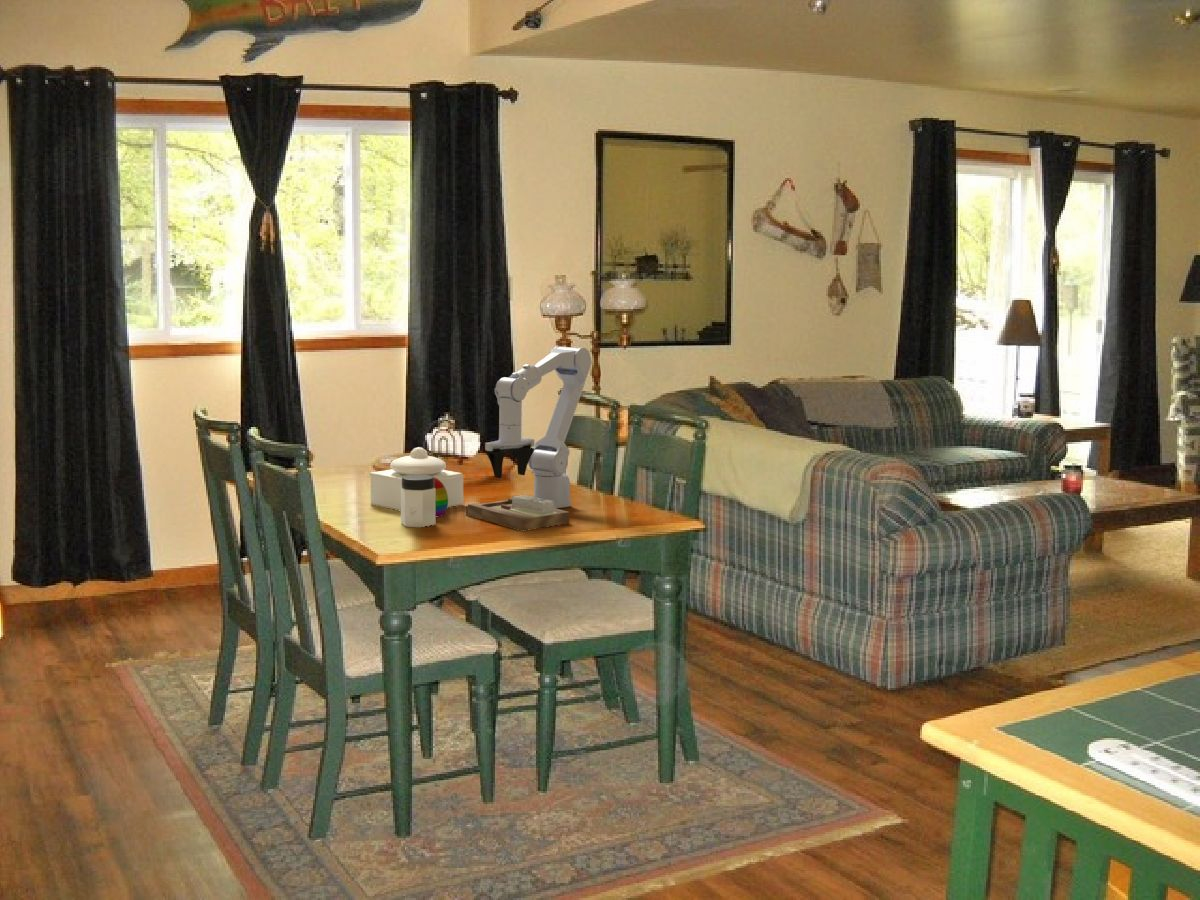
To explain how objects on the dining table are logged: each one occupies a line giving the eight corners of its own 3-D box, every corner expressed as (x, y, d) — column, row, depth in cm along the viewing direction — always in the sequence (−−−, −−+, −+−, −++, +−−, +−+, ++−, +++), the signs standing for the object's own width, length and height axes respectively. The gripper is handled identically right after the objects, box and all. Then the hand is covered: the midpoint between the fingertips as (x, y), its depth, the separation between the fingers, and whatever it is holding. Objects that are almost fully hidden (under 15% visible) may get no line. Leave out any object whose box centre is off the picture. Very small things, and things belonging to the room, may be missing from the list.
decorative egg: (413, 512, 347) (413, 475, 346) (444, 511, 350) (444, 474, 348) (419, 519, 340) (419, 480, 338) (451, 517, 342) (451, 479, 341)
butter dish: (414, 515, 346) (414, 454, 343) (369, 505, 357) (368, 446, 355) (463, 505, 359) (463, 447, 356) (418, 496, 370) (418, 440, 368)
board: (511, 508, 356) (511, 494, 355) (569, 523, 338) (569, 508, 337) (465, 515, 346) (465, 500, 345) (522, 531, 328) (522, 516, 327)
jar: (395, 526, 330) (395, 479, 329) (405, 519, 338) (405, 473, 337) (430, 528, 329) (430, 480, 327) (439, 521, 337) (439, 475, 335)
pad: (531, 507, 342) (531, 506, 342) (557, 513, 335) (557, 512, 335) (509, 510, 338) (509, 509, 338) (535, 517, 330) (535, 516, 330)
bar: (523, 506, 342) (523, 494, 341) (553, 512, 334) (553, 501, 334) (512, 508, 339) (512, 496, 338) (542, 514, 332) (542, 503, 331)
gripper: (523, 420, 350) (522, 471, 352) (478, 424, 341) (477, 476, 343) (539, 423, 345) (538, 475, 347) (494, 427, 336) (494, 480, 338)
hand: (509, 476), depth 345 cm, fingers open, 7 cm apart
